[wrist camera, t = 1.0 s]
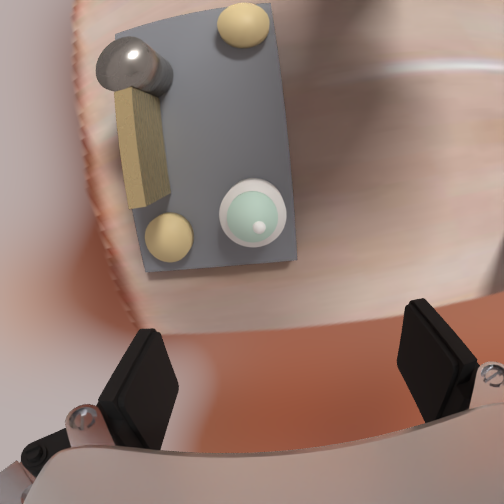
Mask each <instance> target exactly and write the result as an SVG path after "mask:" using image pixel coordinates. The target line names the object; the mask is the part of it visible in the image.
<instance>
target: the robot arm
mask: <svg viewBox="0 0 504 504" xmlns="http://www.w3.org/2000/svg"><path fill="white" fill-rule="evenodd" d="M397 365H398V369H399V371H400V372H401V374H402V376H403V378H404V380H405V382H406V384H407V386H408V388H409V390H410V392H411V394H412V396H413V398H414V400H415V402H416V404H417V406H418V408H419V410H420V413H421V415H422V417H423V419H424V421H425V424H421V425H418V426H414V427H411V428H407V429H404V430H400V431H396V432H393V433H389V434H385V435H381V436H376V437H372V438H367V439H362V440H357V441H352V442H347V443H341V444H335V445H329V446H322V447H315V448H307V449H298V450H288V451H275V452H260V453H193V452H176V451H163V450H160V449H161V446H162V442H163V439H164V436H165V432H166V429H167V426H168V423H169V419H170V416H171V413H172V409H173V406H174V403H175V400H176V397H177V394H178V390H179V385H178V381H177V378H176V376H175V373H174V370H173V368H172V365H171V362H170V359H169V357H168V354H167V351H166V348H165V345H164V342H163V339H162V336H161V334H160V332H156V330H155V329H140V330H139V331H138V332H137V334H136V336H135V337H134V339H133V341H132V342H131V344H130V346H129V347H128V349H127V351H126V352H125V354H124V356H123V357H122V359H121V361H120V363H119V364H118V366H117V367H116V369H115V371H114V373H113V374H112V376H111V378H110V380H109V381H108V383H107V385H106V386H105V388H104V390H103V392H102V394H101V395H100V397H99V399H98V404H97V405H96V406H95V405H91V404H83V405H80V406H78V407H76V408H74V409H73V410H71V411H70V412H69V414H68V415H67V417H66V420H65V425H66V428H64V429H62V430H60V431H58V432H55V433H53V434H51V435H48V436H46V437H44V438H41V439H39V440H37V441H34V442H32V443H30V444H28V445H27V446H26V447H25V448H24V450H23V452H22V454H21V462H20V463H19V462H18V461H15V462H14V463H12V464H11V465H10V466H8V467H7V468H5V469H4V470H3V471H1V472H0V504H504V365H503V364H501V363H498V362H486V363H484V364H482V365H481V366H480V365H479V364H478V363H477V359H476V357H475V356H474V355H473V354H472V352H471V351H470V350H469V349H468V348H467V346H466V345H465V344H464V343H463V342H462V340H461V339H460V338H459V337H458V336H457V334H456V333H455V332H454V331H453V330H452V329H451V327H450V326H449V325H448V324H447V323H446V322H445V321H444V320H443V318H442V317H441V316H440V315H439V314H438V313H437V312H436V310H435V309H434V308H433V307H432V306H431V305H430V304H429V303H428V302H427V301H426V300H425V299H424V298H422V299H416V300H411V301H410V302H409V305H406V307H405V311H404V319H403V326H402V333H401V339H400V346H399V351H398V357H397Z"/></svg>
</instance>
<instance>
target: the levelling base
mask: <svg viewBox="0 0 504 504" xmlns="http://www.w3.org/2000/svg"><path fill="white" fill-rule="evenodd" d="M127 36H132V37H137V38H139V39H141V40H142V41H144V42H145V43H146V44H147V45H149V46H150V47H151V48H152V49H154V50H155V51H156V52H157V53H159V54H160V55H161V56H162V57H163V58H165V59H166V60H167V61H168V62H169V63H170V64H171V66H172V69H173V81H172V83H171V86H170V87H169V89H168V90H167V91H166V92H165V93H164V94H163V95H162V96H160V97H159V100H160V110H161V120H162V129H163V138H164V146H165V154H166V161H167V169H168V176H169V183H170V190H171V193H170V194H168V195H166V196H165V197H163V198H161V199H159V200H157V201H155V202H154V203H152V204H150V205H148V206H146V207H140V208H134V209H132V211H133V216H134V221H135V226H136V231H137V236H138V241H139V245H140V250H141V255H142V259H143V263H144V267H145V272H157V271H171V270H184V269H197V268H209V267H222V266H234V265H246V264H258V263H270V262H282V261H293V260H297V245H296V229H295V214H294V201H293V188H292V176H291V164H290V153H289V143H288V133H287V123H286V114H285V105H284V96H283V88H282V80H281V72H280V64H279V57H278V49H277V42H276V35H275V29H274V22H273V16H272V9H271V3H261V4H251V3H238V4H234V5H231V6H229V7H224V8H217V9H211V10H205V11H200V12H194V13H189V14H185V15H180V16H176V17H171V18H167V19H163V20H160V21H156V22H152V23H149V24H145V25H142V26H139V27H135V28H132V29H129V30H126V31H123V32H120V33H117V34H115V40H117V39H119V38H122V37H127Z"/></svg>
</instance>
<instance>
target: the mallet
mask: <svg viewBox="0 0 504 504" xmlns="http://www.w3.org/2000/svg"><path fill="white" fill-rule="evenodd" d="M96 77H97V80H98V82H99V83H100V84H101V86H103V87H104V88H106V89H108V90H111V91H114V98H115V110H116V121H117V131H118V140H119V148H120V156H121V163H122V170H123V177H124V183H125V190H126V195H127V201H128V207H129V209H134V208H140V207H146V206H148V205H150V204H152V203H154V202H155V201H157V200H159V199H161V198H163V197H165V196H166V195H168V194H170V193H171V190H170V183H169V176H168V169H167V161H166V154H165V146H164V138H163V129H162V120H161V110H160V100H159V97H160V96H162V95H163V94H164V93H165V92H166V91H167V90H168V89H169V87H170V86H171V83H172V81H173V69H172V66H171V64H170V63H169V62H168V61H167V60H166V59H165V58H163V57H162V56H161V55H160V54H159V53H157V52H156V51H155V50H154V49H152V48H151V47H150V46H149V45H147V44H146V43H145V42H144V41H142V40H141V39H139V38H137V37H132V36H127V37H122V38H119V39H117V40H115V41H113V42H112V43H110V44H109V45H108V46H107V47H106V48H105V49H104V50H103V52H102V53H101V55H100V56H99V58H98V61H97V64H96Z"/></svg>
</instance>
